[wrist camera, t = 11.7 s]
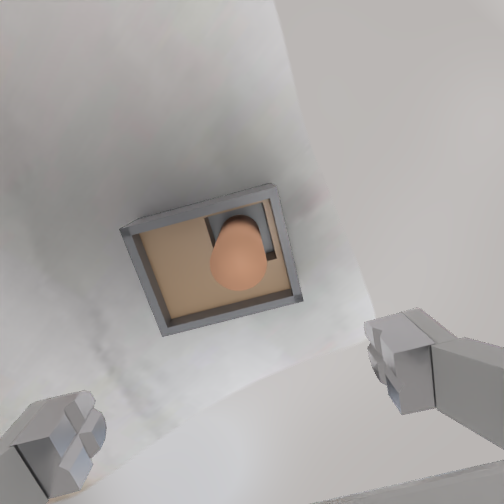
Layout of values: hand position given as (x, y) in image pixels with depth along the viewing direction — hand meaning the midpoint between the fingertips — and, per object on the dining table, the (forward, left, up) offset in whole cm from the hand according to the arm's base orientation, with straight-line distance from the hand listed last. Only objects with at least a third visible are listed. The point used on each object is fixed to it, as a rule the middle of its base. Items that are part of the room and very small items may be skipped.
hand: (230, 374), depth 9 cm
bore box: (-3, -3, -23) cm, 24 cm away
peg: (0, -1, -22) cm, 22 cm away
